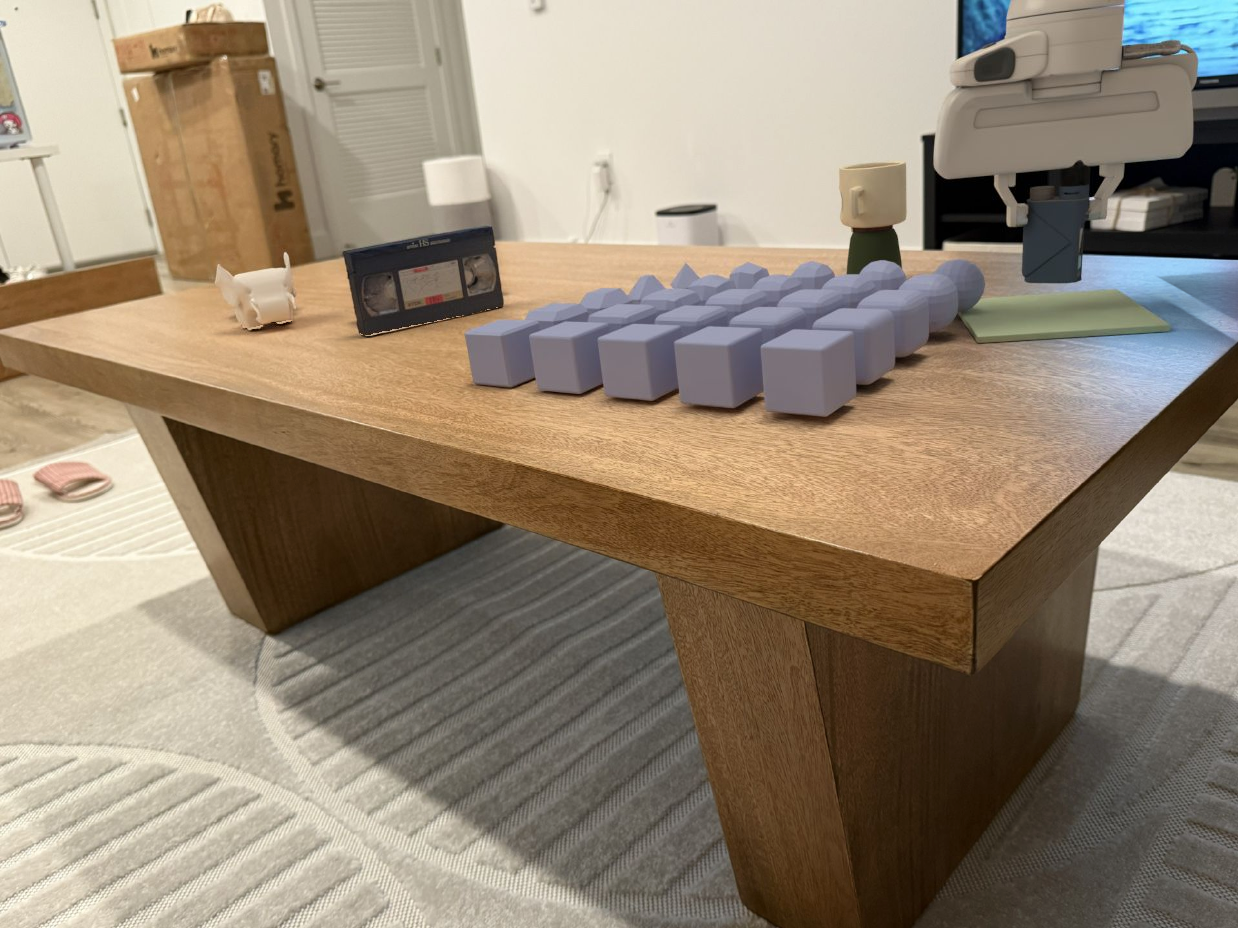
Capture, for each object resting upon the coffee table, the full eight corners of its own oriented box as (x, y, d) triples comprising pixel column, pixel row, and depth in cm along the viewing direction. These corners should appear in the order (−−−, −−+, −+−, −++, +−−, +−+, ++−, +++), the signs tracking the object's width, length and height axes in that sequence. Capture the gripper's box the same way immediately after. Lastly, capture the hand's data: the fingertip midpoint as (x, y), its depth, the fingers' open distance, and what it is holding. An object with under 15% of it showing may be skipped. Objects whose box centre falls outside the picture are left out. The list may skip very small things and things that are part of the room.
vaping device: (1081, 284, 85) (1089, 139, 81) (1018, 283, 88) (1023, 143, 84) (1087, 278, 87) (1096, 136, 83) (1025, 277, 90) (1030, 141, 86)
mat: (1115, 295, 94) (1116, 288, 94) (1169, 331, 81) (1170, 324, 80) (952, 306, 97) (952, 300, 97) (977, 343, 84) (977, 336, 83)
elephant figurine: (244, 340, 121) (227, 268, 118) (221, 329, 130) (204, 261, 127) (320, 324, 125) (305, 254, 122) (292, 314, 135) (278, 249, 132)
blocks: (471, 384, 89) (462, 331, 87) (684, 301, 114) (679, 258, 112) (827, 418, 68) (823, 348, 66) (992, 306, 93) (992, 254, 91)
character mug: (865, 273, 118) (862, 161, 114) (923, 274, 114) (922, 157, 109) (824, 293, 110) (819, 172, 106) (884, 294, 106) (882, 169, 101)
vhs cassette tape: (365, 338, 114) (348, 252, 110) (357, 335, 116) (339, 250, 113) (507, 307, 123) (495, 226, 119) (496, 305, 125) (484, 225, 122)
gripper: (1186, 38, 82) (1172, 207, 87) (931, 67, 86) (930, 227, 91) (1215, 35, 76) (1198, 216, 81) (940, 66, 81) (939, 237, 85)
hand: (1055, 222), depth 86 cm, fingers closed on vaping device, 5 cm apart
